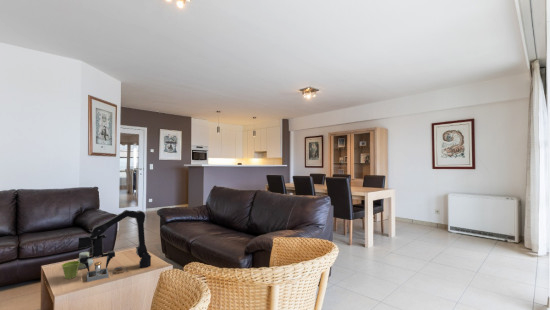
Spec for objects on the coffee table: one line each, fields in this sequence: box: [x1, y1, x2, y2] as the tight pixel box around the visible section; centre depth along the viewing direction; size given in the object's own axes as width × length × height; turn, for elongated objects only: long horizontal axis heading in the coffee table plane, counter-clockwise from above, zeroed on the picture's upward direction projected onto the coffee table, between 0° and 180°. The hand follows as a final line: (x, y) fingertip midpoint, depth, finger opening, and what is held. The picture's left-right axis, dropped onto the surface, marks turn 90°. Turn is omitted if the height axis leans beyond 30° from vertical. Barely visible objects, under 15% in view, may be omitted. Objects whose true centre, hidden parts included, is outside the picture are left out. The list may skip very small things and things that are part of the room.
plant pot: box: [61, 260, 80, 280], centre depth 173 cm, size 9×9×9 cm
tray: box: [86, 267, 110, 283], centre depth 172 cm, size 11×11×3 cm
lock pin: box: [93, 261, 102, 276], centre depth 172 cm, size 4×4×9 cm
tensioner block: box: [109, 266, 129, 277], centre depth 180 cm, size 10×11×2 cm
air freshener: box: [76, 251, 94, 270], centre depth 190 cm, size 11×8×10 cm
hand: (97, 270), depth 172 cm, fingers open, 9 cm apart
